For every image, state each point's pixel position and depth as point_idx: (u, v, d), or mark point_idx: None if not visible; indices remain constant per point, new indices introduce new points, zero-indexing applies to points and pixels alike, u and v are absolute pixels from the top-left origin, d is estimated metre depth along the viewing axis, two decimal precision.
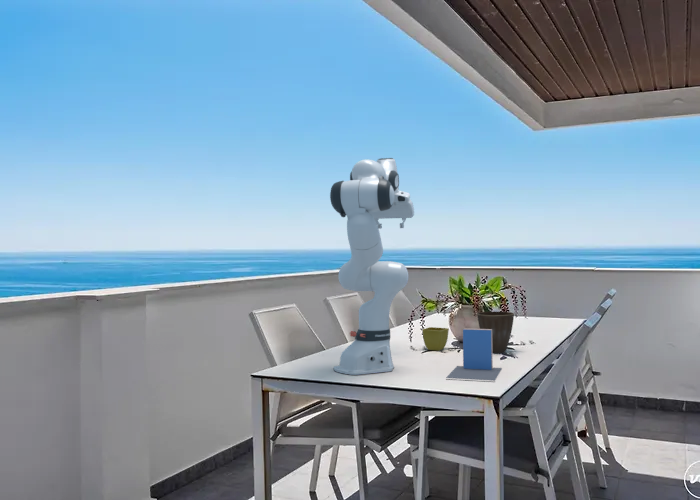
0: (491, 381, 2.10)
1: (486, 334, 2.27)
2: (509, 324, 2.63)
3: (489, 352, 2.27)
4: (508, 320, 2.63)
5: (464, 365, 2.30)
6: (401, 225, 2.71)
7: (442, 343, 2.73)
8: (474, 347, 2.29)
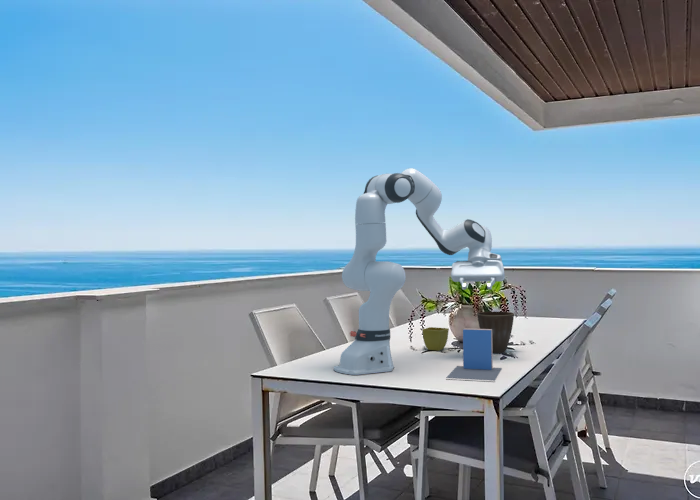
0: (491, 381, 2.10)
1: (486, 334, 2.27)
2: (509, 324, 2.63)
3: (489, 352, 2.27)
4: (508, 320, 2.63)
5: (464, 365, 2.30)
6: (489, 284, 2.44)
7: (442, 343, 2.73)
8: (474, 347, 2.29)
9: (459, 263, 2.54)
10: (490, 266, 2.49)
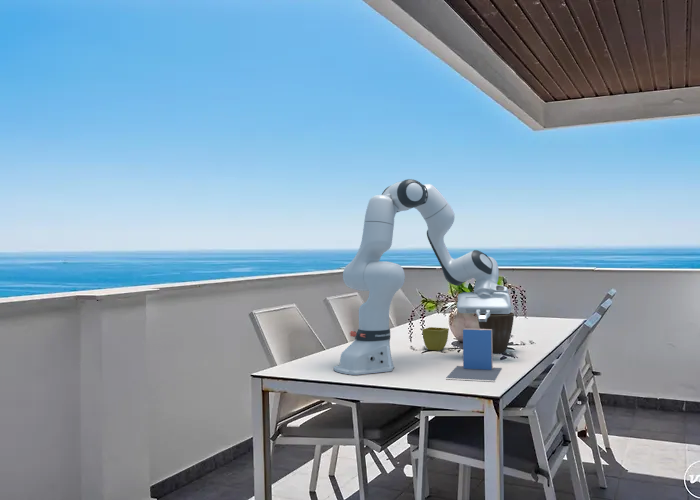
0: (491, 381, 2.10)
1: (486, 334, 2.27)
2: (509, 324, 2.63)
3: (489, 352, 2.27)
4: (508, 320, 2.63)
5: (464, 365, 2.30)
6: (484, 316, 2.42)
7: (442, 343, 2.73)
8: (474, 347, 2.29)
9: (465, 294, 2.51)
10: (496, 298, 2.46)
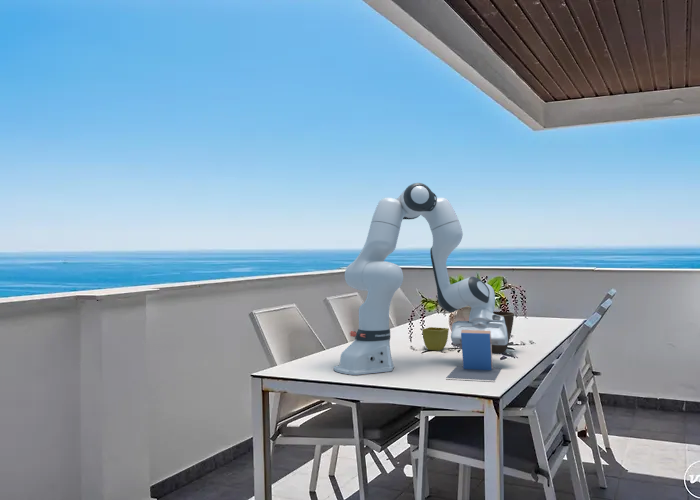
0: (491, 381, 2.10)
1: (485, 337, 2.24)
2: (509, 324, 2.63)
3: (488, 354, 2.25)
4: (508, 320, 2.63)
5: (464, 366, 2.30)
6: None
7: (442, 343, 2.73)
8: (473, 349, 2.27)
9: (460, 323, 2.39)
10: (492, 328, 2.34)
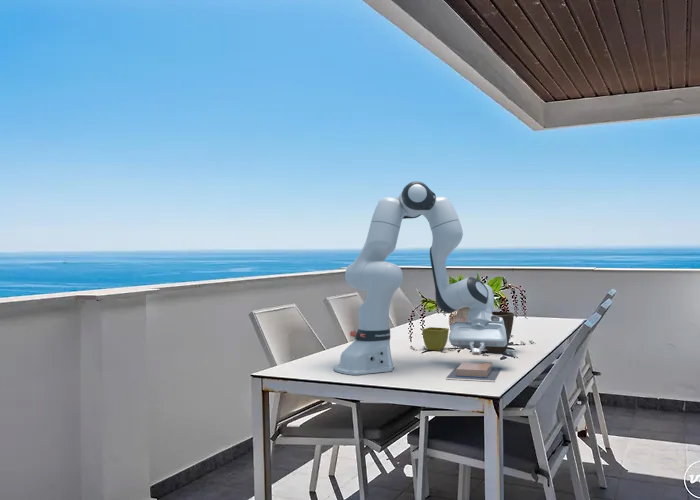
0: (491, 381, 2.10)
1: None
2: (509, 324, 2.63)
3: None
4: (508, 320, 2.63)
5: None
6: (478, 349, 2.26)
7: (442, 343, 2.73)
8: None
9: (458, 324, 2.35)
10: (491, 330, 2.30)
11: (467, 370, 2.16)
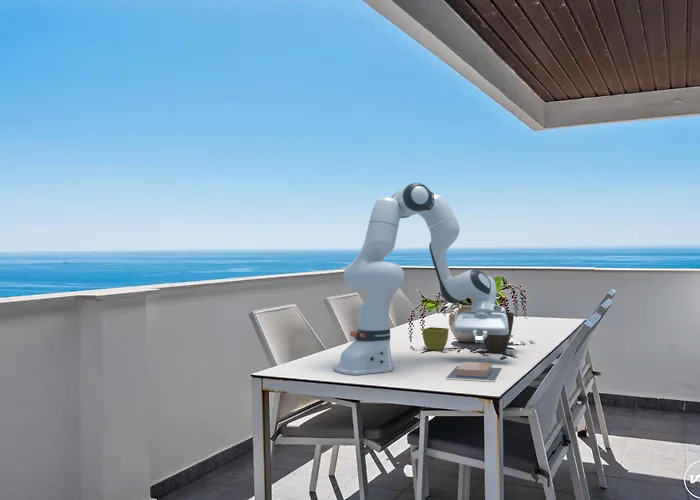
0: (491, 381, 2.10)
1: None
2: (509, 324, 2.63)
3: None
4: (508, 320, 2.63)
5: None
6: (481, 337, 2.37)
7: (442, 343, 2.73)
8: None
9: (462, 314, 2.46)
10: (494, 319, 2.41)
11: (467, 370, 2.16)
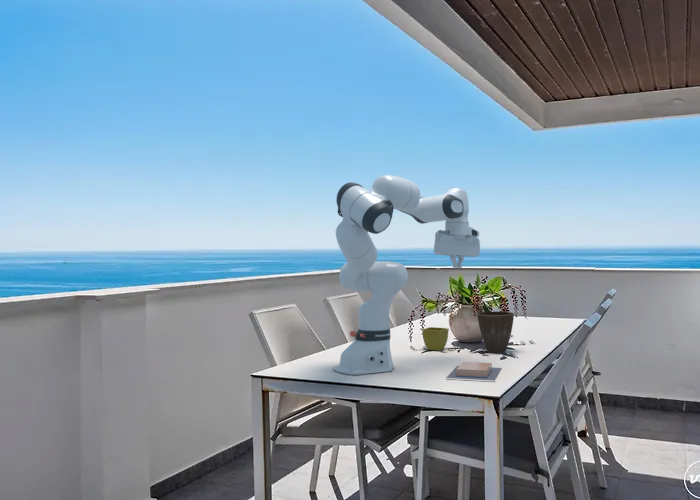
0: (491, 381, 2.10)
1: None
2: (509, 324, 2.63)
3: None
4: (508, 320, 2.63)
5: None
6: (460, 264, 2.44)
7: (442, 343, 2.73)
8: None
9: (445, 236, 2.40)
10: (469, 243, 2.47)
11: (467, 370, 2.16)
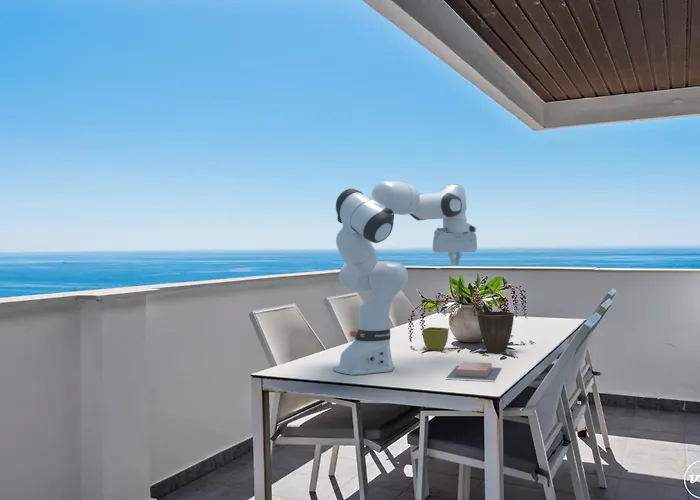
0: (491, 381, 2.10)
1: None
2: (509, 324, 2.63)
3: None
4: (508, 320, 2.63)
5: None
6: (458, 261, 2.45)
7: (442, 343, 2.73)
8: None
9: (444, 234, 2.39)
10: (466, 239, 2.47)
11: (467, 370, 2.16)
